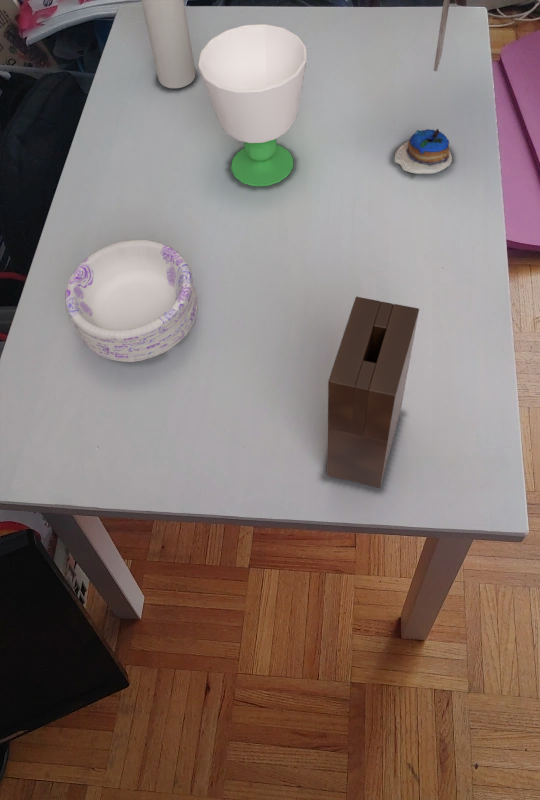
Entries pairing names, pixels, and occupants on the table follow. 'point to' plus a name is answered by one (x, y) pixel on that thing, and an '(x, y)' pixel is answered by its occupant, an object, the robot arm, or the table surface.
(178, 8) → the paper towel roll
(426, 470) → the table surface
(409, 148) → the dessert
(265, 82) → the cup
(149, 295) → the paper bowls
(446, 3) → the knife
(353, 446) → the knife block
